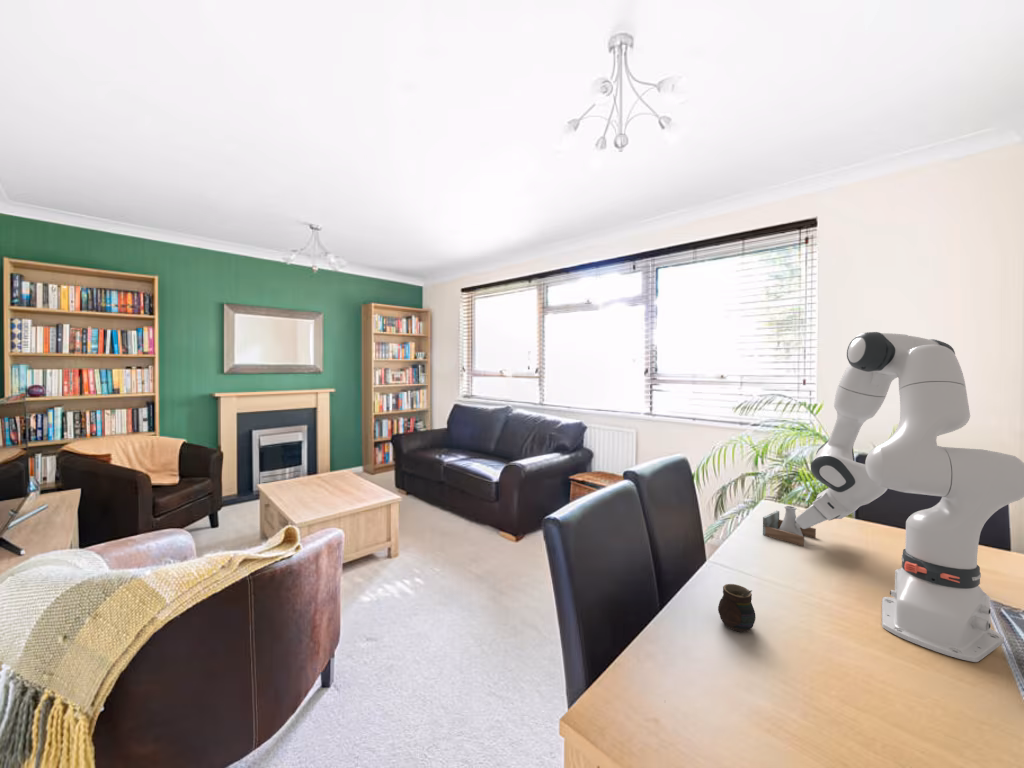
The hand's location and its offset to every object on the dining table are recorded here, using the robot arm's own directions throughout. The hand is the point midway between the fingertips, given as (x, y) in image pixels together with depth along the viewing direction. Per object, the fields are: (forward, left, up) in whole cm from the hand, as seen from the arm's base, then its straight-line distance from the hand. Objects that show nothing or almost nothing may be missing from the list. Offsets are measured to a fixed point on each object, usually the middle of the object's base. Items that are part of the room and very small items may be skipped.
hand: (797, 525), depth 137 cm
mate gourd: (-66, -10, -5) cm, 67 cm away
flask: (0, +2, -5) cm, 5 cm away
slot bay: (0, +3, -4) cm, 5 cm away
